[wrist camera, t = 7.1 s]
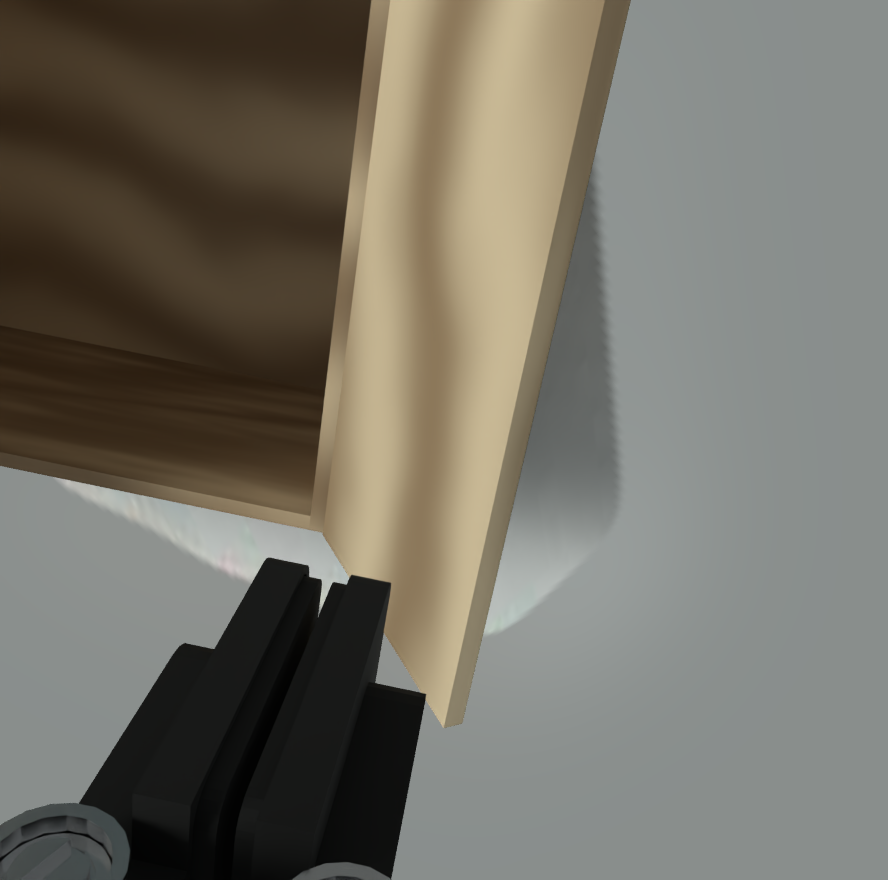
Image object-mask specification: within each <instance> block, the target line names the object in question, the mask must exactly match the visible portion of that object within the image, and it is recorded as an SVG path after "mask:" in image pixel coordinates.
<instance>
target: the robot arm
mask: <svg viewBox="0 0 888 880" xmlns="http://www.w3.org/2000/svg"><path fill="white" fill-rule="evenodd" d="M321 588H322V581H321V579H316V578H311V577H309V567H308V565H303V564H298V563H293V562H288V561H283V560H278V559H274V558H267V559H266V560H265V561H264V563H263V564H262V566H261V568H260V570H259V572H258V573H257V575H256V577H255V579H254V580H253V582H252V584H251V586H250V587H249V589H248V591H247V593H246V594H245V596H244V598H243V600H242V602H241V603H240V605H239V607H238V609H237V610H236V612H235V614H234V616H233V617H232V619H231V621H230V623H229V624H228V626H227V628H226V630H225V631H224V633H223V635H222V637H221V639H220V640H219V642H218V644H217V645H216V647H215V649H210V648H205V647H200V646H196V645H191V644H186V643H184V644H182V645H181V646H179V647H178V649H177V650H176V651H175V653H174V654H173V656H172V657H171V659H170V660H169V662H168V663H167V665H166V667H165V668H164V670H163V671H162V673H161V674H160V676H159V677H158V679H157V681H156V682H155V684H154V685H153V687H152V689H151V690H150V692H149V693H148V695H147V697H146V698H145V700H144V701H143V703H142V705H141V706H140V708H139V709H138V711H137V712H136V714H135V715H134V717H133V719H132V720H131V722H130V723H129V725H128V727H127V728H126V730H125V731H124V733H123V734H122V736H121V738H120V739H119V741H118V742H117V744H116V746H115V747H114V749H113V750H112V752H111V754H110V755H109V757H108V758H107V760H106V761H105V763H104V765H103V766H102V768H101V769H100V771H99V772H98V774H97V776H96V777H95V779H94V780H93V782H92V783H91V785H90V787H89V788H88V790H87V791H86V793H85V795H84V796H83V798H82V799H81V801H80V802H79V804H77V803H66V804H65V803H64V804H50V805H46V806H43V807H39V808H35V809H32V810H28V811H25V812H24V813H22V814H20V815H18V816H16V817H14V818H12V819H10V820H8V821H6V822H4V823H3V824H1V825H0V880H391V877H392V872H393V866H394V861H395V856H396V851H397V845H398V840H399V835H400V830H401V824H402V819H403V814H404V809H405V803H406V798H407V793H408V788H409V783H410V777H411V772H412V767H413V762H414V757H415V751H416V746H417V741H418V736H419V731H420V725H421V720H422V715H423V710H424V705H425V699H426V694H424V693H419V692H415V691H410V690H405V689H400V688H396V687H391V686H386V685H381V684H377V683H375V681H376V675H377V669H378V662H379V657H380V651H381V644H382V639H383V633H384V627H385V622H386V616H387V610H388V604H389V598H390V592H391V583H390V582H385V581H380V580H375V579H371V578H366V577H361V576H356V575H351V576H350V578H349V580H348V583H347V585H345V584H340V583H336V582H333V583H332V585H331V587H330V590H329V592H328V595H327V597H326V600H325V602H324V604H323V607H322V609H321V612H320V614H319V617H318V612H319V604H320V596H321Z"/></svg>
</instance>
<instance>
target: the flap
mask: <svg viewBox="0 0 888 880" xmlns="http://www.w3.org/2000/svg"><path fill="white" fill-rule="evenodd" d="M630 1H631V0H390V6H389V14H388V22H387V30H386V38H385V46H384V54H383V62H382V70H381V77H380V85H379V93H378V101H377V109H376V117H375V125H374V133H373V141H372V149H371V157H370V164H369V172H368V180H367V188H366V196H365V204H364V212H363V220H362V228H361V236H360V244H359V251H358V259H357V267H356V275H355V283H354V291H353V299H352V307H351V315H350V323H349V331H348V339H347V346H346V354H345V362H344V370H343V378H342V386H341V394H340V402H339V410H338V418H337V426H336V433H335V441H334V449H333V457H332V465H331V473H330V481H329V489H328V497H327V505H326V513H325V520H324V528H323V536H324V538H325V539H326V541H327V542H328V544H329V546H330V547H331V549H332V550H333V552H334V554H335V555H336V557H337V558H338V560H339V562H340V563H341V565H342V566H343V568H344V570H345V571H346V573H347V574H348V576H349V578H350V576H351V575H356V576H361V577H366V578H371V579H375V580H380V581H385V582H390V583H391V592H390V598H389V604H388V610H387V616H386V622H385V627H384V633H385V635H386V637H387V638H388V640H389V642H390V643H391V645H392V646H393V648H394V649H395V651H396V653H397V654H398V656H399V657H400V659H401V660H402V662H403V664H404V666H405V667H406V669H407V670H408V672H409V673H410V675H411V677H412V678H413V680H414V682H415V683H416V685H417V686H418V688H419V690H420V691H421V693H424V694H426V701H427V702H428V704H429V706H430V707H431V709H432V710H433V712H434V714H435V715H436V717H437V718H438V720H439V721H440V723H441V725H442V726H443V728H446V727H450V726H455V725H459V724H462V722H463V718H464V714H465V710H466V705H467V700H468V697H469V692H470V688H471V683H472V679H473V675H474V671H475V667H476V662H477V658H478V654H479V649H480V645H481V641H482V637H483V632H484V628H485V624H486V619H487V615H488V611H489V607H490V602H491V598H492V594H493V589H494V585H495V581H496V576H497V572H498V568H499V564H500V559H501V555H502V551H503V546H504V542H505V538H506V534H507V529H508V525H509V521H510V516H511V512H512V508H513V504H514V499H515V495H516V491H517V486H518V482H519V478H520V473H521V469H522V465H523V461H524V456H525V452H526V448H527V443H528V439H529V435H530V431H531V426H532V422H533V418H534V413H535V409H536V405H537V401H538V396H539V392H540V388H541V383H542V379H543V375H544V370H545V366H546V362H547V358H548V353H549V349H550V345H551V340H552V336H553V332H554V328H555V323H556V319H557V315H558V310H559V306H560V302H561V297H562V293H563V289H564V285H565V280H566V276H567V272H568V267H569V263H570V259H571V255H572V250H573V246H574V242H575V237H576V233H577V229H578V225H579V220H580V216H581V212H582V207H583V203H584V199H585V194H586V190H587V186H588V182H589V177H590V173H591V169H592V164H593V160H594V156H595V152H596V147H597V143H598V139H599V134H600V130H601V126H602V122H603V117H604V113H605V108H606V104H607V100H608V96H609V91H610V87H611V83H612V79H613V74H614V70H615V66H616V61H617V57H618V53H619V49H620V44H621V40H622V35H623V31H624V27H625V23H626V18H627V14H628V10H629V6H630Z"/></svg>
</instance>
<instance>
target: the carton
mask: <svg viewBox="0 0 888 880" xmlns="http://www.w3.org/2000/svg"><path fill="white" fill-rule="evenodd" d="M389 6H390V0H0V466H4V467H9V468H13V469H19V470H23V471H28V472H33V473H37V474H42V475H47V476H52V477H57V478H62V479H66V480H71V481H76V482H81V483H86V484H91V485H95V486H100V487H105V488H110V489H115V490H120V491H124V492H129V493H134V494H139V495H144V496H149V497H153V498H158V499H163V500H168V501H173V502H178V503H182V504H187V505H192V506H197V507H202V508H207V509H211V510H216V511H221V512H226V513H231V514H236V515H240V516H245V517H250V518H255V519H260V520H265V521H269V522H274V523H279V524H284V525H289V526H294V527H298V528H303V529H308V530H313V531H318V532H323V528H324V520H325V513H326V505H327V497H328V489H329V481H330V473H331V465H332V457H333V449H334V441H335V433H336V426H337V418H338V410H339V402H340V394H341V386H342V378H343V370H344V362H345V354H346V346H347V339H348V331H349V323H350V315H351V307H352V299H353V291H354V283H355V275H356V267H357V259H358V251H359V244H360V236H361V228H362V220H363V212H364V204H365V196H366V188H367V180H368V172H369V164H370V157H371V149H372V141H373V133H374V125H375V117H376V109H377V101H378V93H379V85H380V77H381V70H382V62H383V54H384V46H385V38H386V30H387V22H388V14H389Z"/></svg>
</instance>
